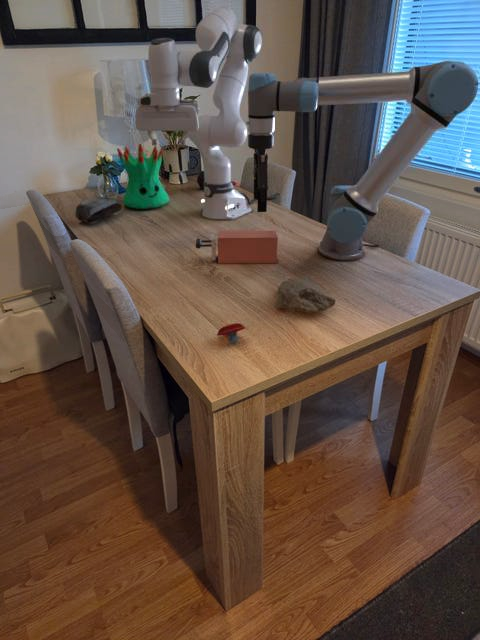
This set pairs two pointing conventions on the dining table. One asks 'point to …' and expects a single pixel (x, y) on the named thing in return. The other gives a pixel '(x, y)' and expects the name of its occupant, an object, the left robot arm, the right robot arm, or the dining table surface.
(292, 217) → the dining table surface
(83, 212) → the rock
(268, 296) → the dining table surface
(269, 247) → the cabinet
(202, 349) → the dining table surface
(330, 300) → the artifact
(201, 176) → the toy
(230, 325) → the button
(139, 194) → the toy
